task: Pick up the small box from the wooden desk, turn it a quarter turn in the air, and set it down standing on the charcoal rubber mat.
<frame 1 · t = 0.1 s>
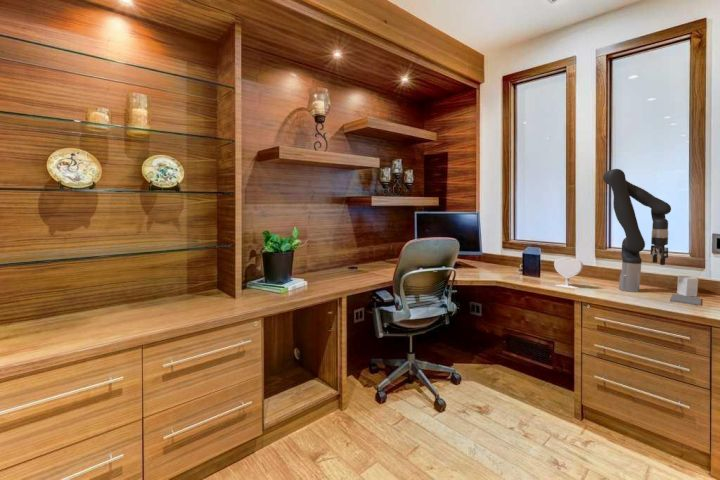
hand: (658, 263, 211), 17 cm above the table, tool pointing down, fingers open, 8 cm apart
mat: (685, 300, 195), on the table
small box: (686, 295, 207), on the table
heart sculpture: (566, 286, 227), on the table
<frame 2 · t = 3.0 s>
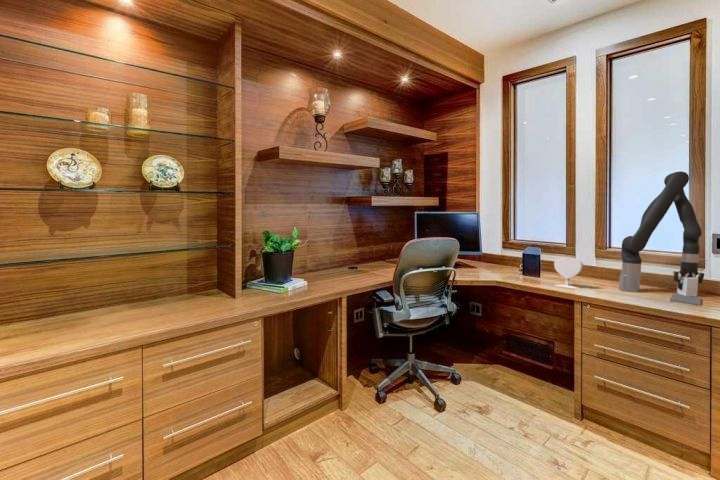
hand: (687, 289, 206), 3 cm above the table, tool pointing down, fingers closed on small box, 6 cm apart
small box: (686, 295, 207), on the table, touching gripper
everything else where it was.
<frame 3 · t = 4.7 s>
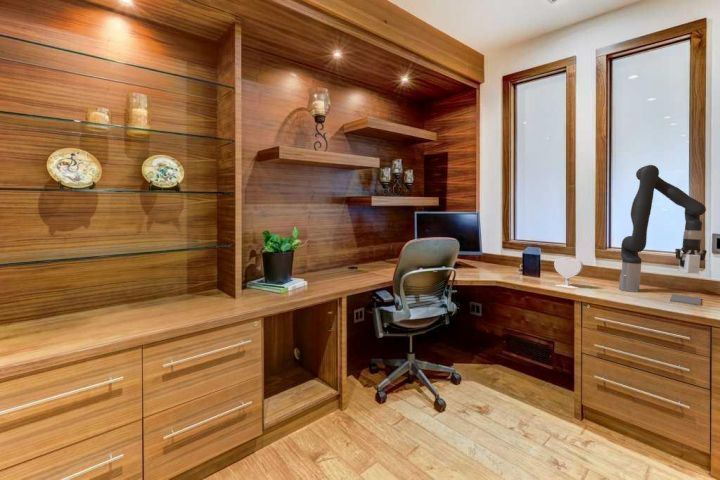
hand: (688, 267, 205), 16 cm above the table, tool pointing down, fingers closed on small box, 6 cm apart
small box: (688, 272, 205), point 13 cm above the table, touching gripper
everything else where it was.
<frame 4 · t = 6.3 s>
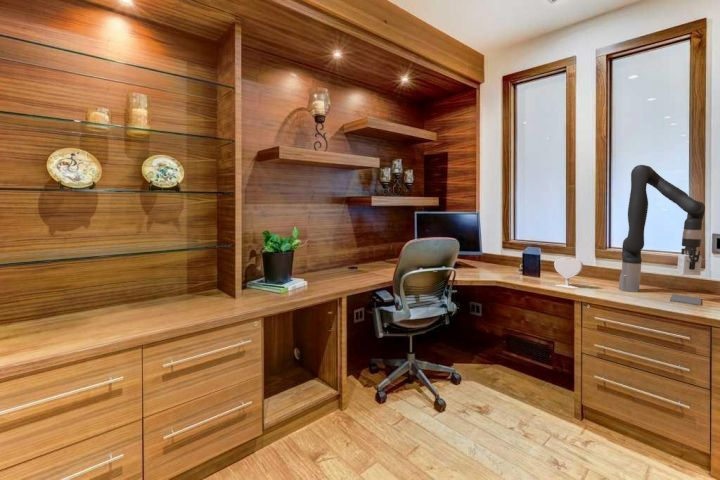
hand: (688, 268, 194), 18 cm above the table, tool pointing down, fingers closed on small box, 6 cm apart
small box: (688, 274, 194), point 14 cm above the table, touching gripper
everything else where it was.
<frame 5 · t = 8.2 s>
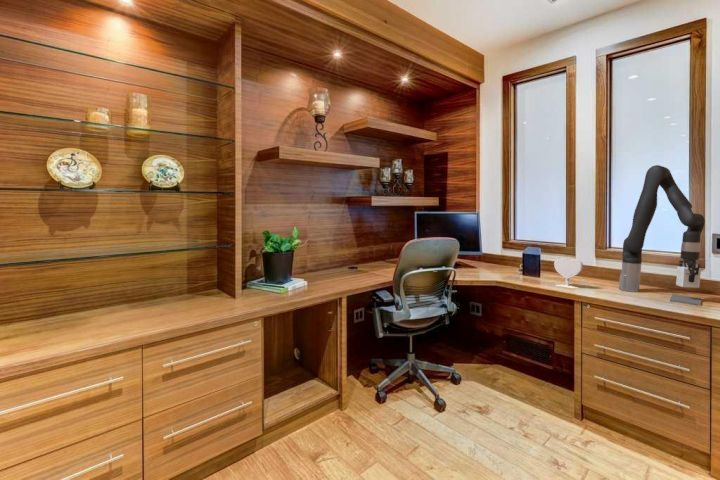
hand: (687, 280, 194), 11 cm above the table, tool pointing down, fingers closed on small box, 6 cm apart
small box: (687, 286, 194), point 7 cm above the table, touching gripper
everything else where it was.
when the fingers open (6 cm above the table, at t = 9.7 s): small box drops 2 cm, resting on mat.
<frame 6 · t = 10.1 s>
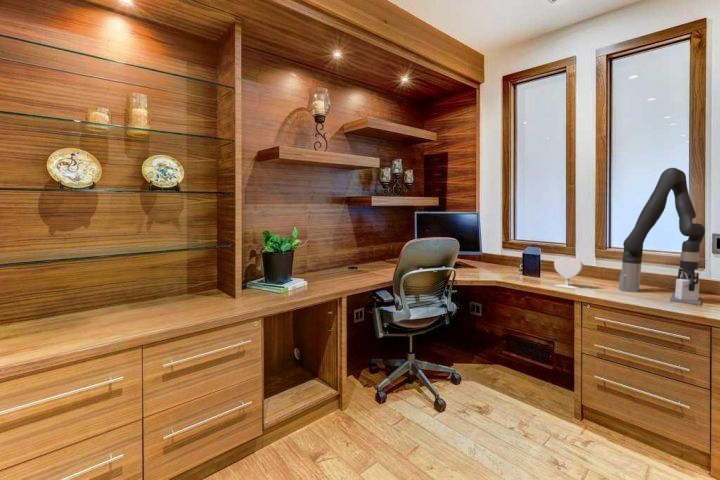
hand: (686, 289, 194), 6 cm above the table, tool pointing down, fingers open, 8 cm apart
small box: (686, 299, 194), point 1 cm above the table, touching mat
everything else where it was.
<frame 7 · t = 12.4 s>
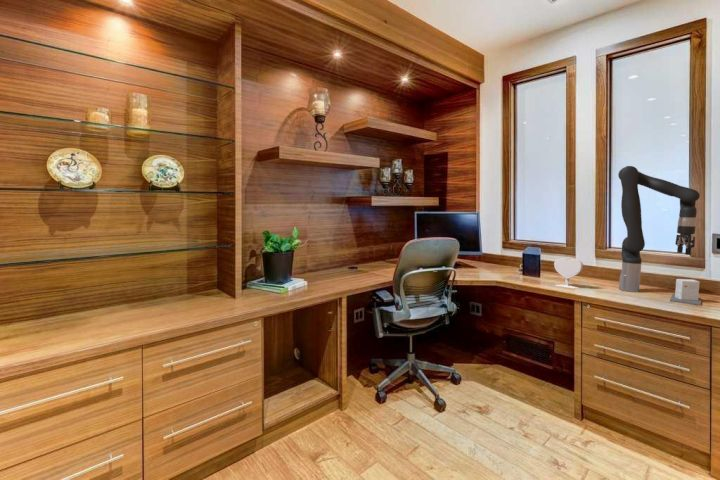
hand: (683, 253, 201), 24 cm above the table, tool pointing down, fingers open, 8 cm apart
nothing on the table moved.
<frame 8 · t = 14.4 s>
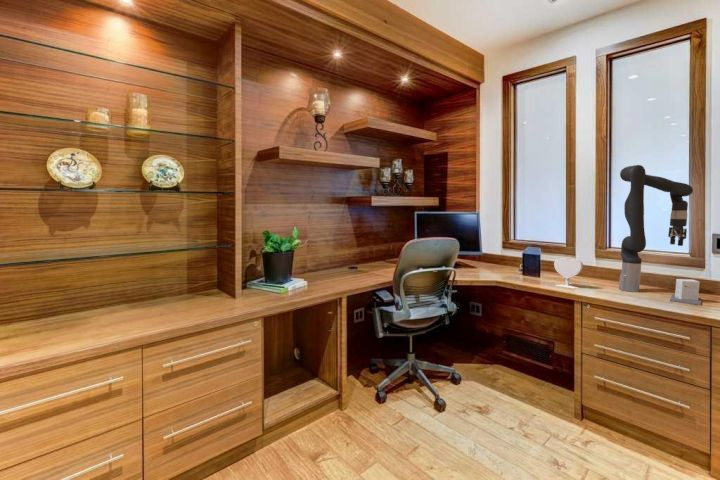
hand: (676, 245, 214), 28 cm above the table, tool pointing down, fingers open, 8 cm apart
nothing on the table moved.
at the end: small box inside the target area on the mat (0.3 cm from its centre), point 0.6 cm above the mat's base; small box tilted 0°; the gripper is holding nothing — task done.
